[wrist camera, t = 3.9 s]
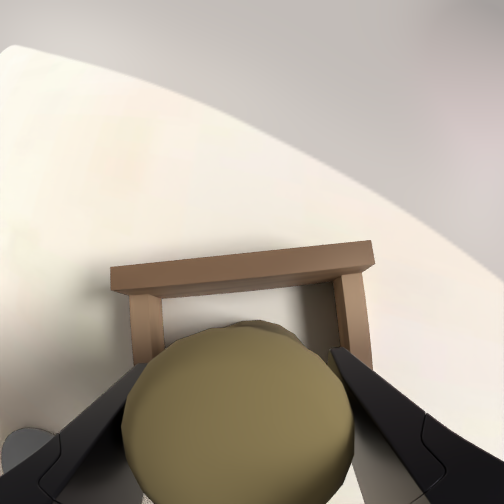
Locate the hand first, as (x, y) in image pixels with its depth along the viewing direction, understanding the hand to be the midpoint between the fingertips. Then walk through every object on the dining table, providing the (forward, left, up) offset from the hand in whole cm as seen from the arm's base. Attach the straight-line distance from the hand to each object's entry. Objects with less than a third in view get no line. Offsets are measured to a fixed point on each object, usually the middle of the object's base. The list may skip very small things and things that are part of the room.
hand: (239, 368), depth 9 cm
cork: (-1, 0, -7) cm, 7 cm away
